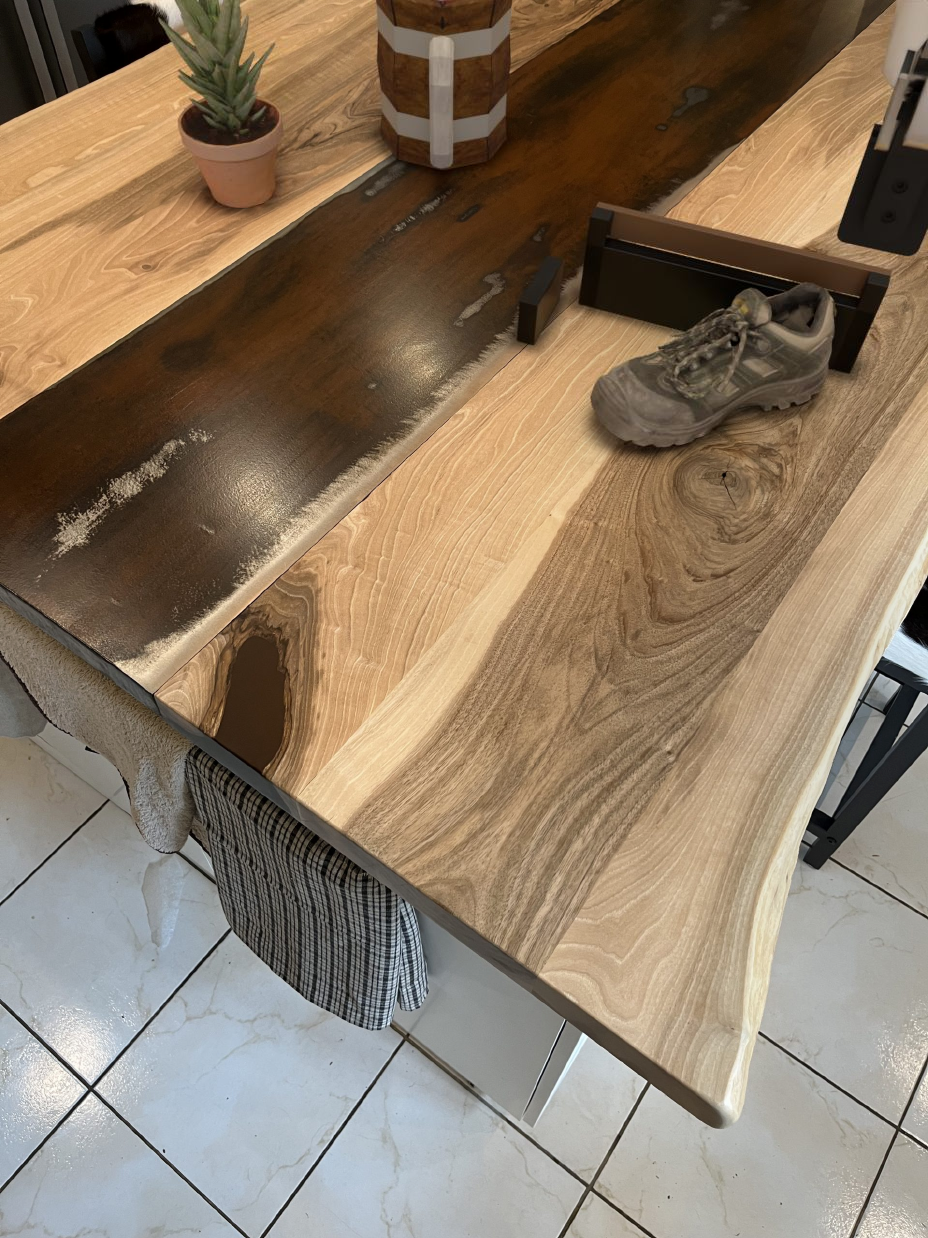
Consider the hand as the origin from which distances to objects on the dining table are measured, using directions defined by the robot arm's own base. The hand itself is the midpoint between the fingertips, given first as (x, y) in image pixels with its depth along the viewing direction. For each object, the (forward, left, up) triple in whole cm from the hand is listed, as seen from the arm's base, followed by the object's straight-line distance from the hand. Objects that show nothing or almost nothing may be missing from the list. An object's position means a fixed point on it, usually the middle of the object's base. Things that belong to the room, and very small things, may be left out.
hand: (877, 237), depth 38 cm
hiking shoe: (+6, -23, -30) cm, 39 cm away
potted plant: (+55, -36, -30) cm, 72 cm away
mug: (+40, -51, -30) cm, 71 cm away
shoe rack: (+9, -29, -30) cm, 43 cm away
